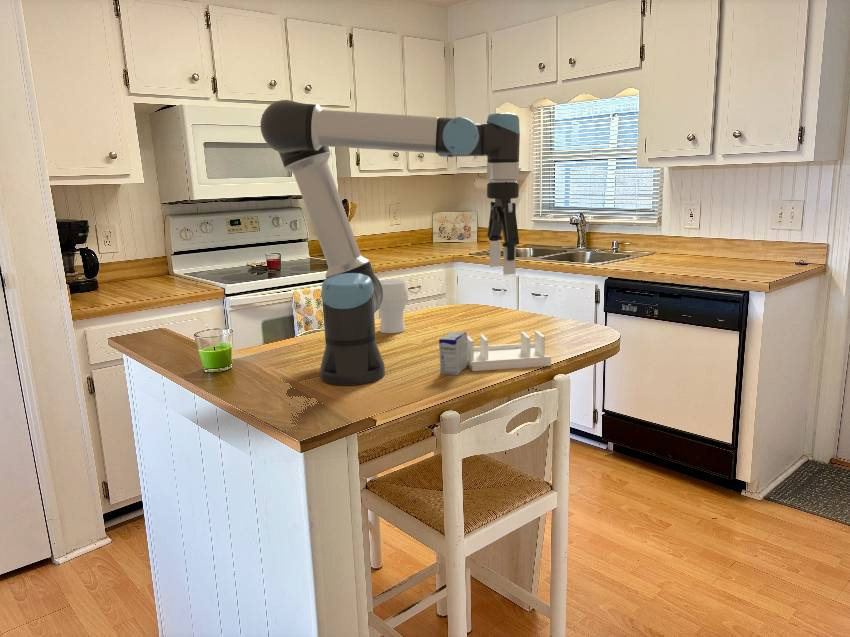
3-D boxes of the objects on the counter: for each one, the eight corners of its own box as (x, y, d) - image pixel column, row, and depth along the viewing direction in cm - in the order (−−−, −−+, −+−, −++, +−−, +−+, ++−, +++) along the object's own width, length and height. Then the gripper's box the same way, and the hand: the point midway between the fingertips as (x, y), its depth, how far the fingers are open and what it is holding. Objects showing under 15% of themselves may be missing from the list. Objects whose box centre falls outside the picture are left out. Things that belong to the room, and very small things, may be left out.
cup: (416, 328, 194) (414, 279, 191) (396, 336, 186) (394, 285, 182) (388, 325, 200) (386, 278, 197) (367, 332, 191) (364, 283, 188)
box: (450, 364, 156) (449, 330, 154) (468, 366, 154) (467, 331, 152) (439, 374, 149) (438, 338, 147) (458, 375, 147) (457, 339, 145)
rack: (472, 371, 150) (471, 345, 148) (462, 355, 163) (461, 331, 162) (550, 365, 152) (551, 340, 150) (534, 350, 165) (534, 327, 164)
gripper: (534, 181, 140) (532, 277, 145) (504, 181, 164) (503, 263, 169) (501, 182, 139) (499, 278, 144) (476, 181, 163) (475, 263, 168)
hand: (501, 270), depth 156 cm, fingers open, 13 cm apart
